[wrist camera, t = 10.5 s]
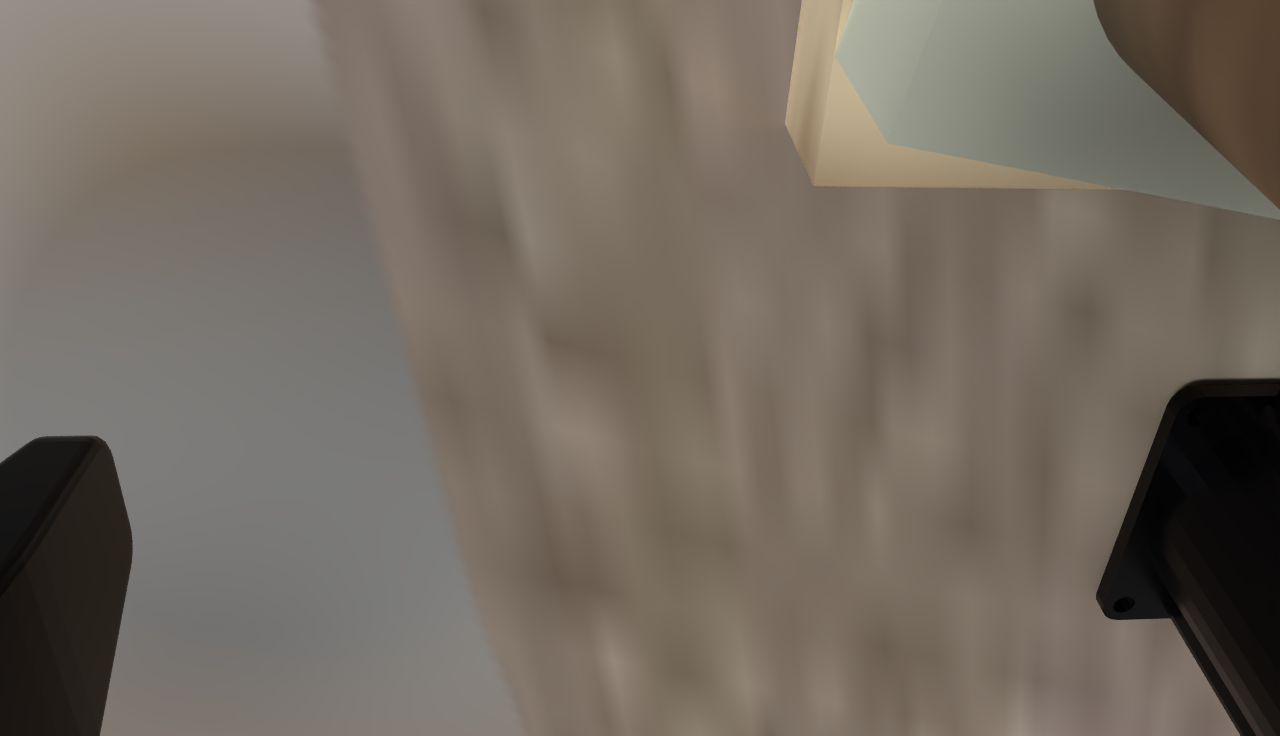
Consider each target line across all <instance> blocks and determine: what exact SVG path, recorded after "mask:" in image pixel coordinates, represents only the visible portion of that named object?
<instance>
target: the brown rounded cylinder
mask: <svg viewBox="0 0 1280 736" xmlns="http://www.w3.org/2000/svg"><path fill="white" fill-rule="evenodd" d="M1093 1H1094V5H1095V9H1096V12H1097V16H1098V19H1099V21H1100V23H1101V25H1102V27H1103V30H1104V32H1105V34H1106V36H1107V38H1108V40H1109V41H1110V43H1111V44H1112V46H1113V47H1114V49H1115V50H1116V52H1117V53H1118V55H1119V56H1120V57H1121V58H1122V59H1123V61H1124V62H1125V63H1126V64H1127V65H1128V66H1129V67H1130V68H1131V69H1132V70H1133V71H1134V72H1135V73H1136V74H1137V75H1138V76H1139V77H1140V78H1141V79H1142V80H1143V81H1144V82H1146V83H1147V84H1148V85H1149V86H1150V87H1151V88H1152V89H1153V90H1154V91H1155V92H1156V93H1157V94H1158V95H1159V96H1160V97H1161V98H1162V99H1163V100H1164V101H1166V102H1167V103H1168V104H1169V105H1170V106H1171V107H1172V108H1173V109H1174V110H1175V111H1176V112H1177V113H1178V114H1179V115H1180V116H1181V117H1182V118H1183V119H1185V120H1186V121H1187V122H1188V123H1189V124H1190V125H1191V126H1192V127H1193V128H1194V129H1195V130H1196V131H1197V132H1198V133H1199V134H1200V135H1201V136H1202V137H1203V138H1205V139H1206V140H1207V141H1208V142H1209V143H1210V144H1211V145H1212V146H1213V147H1214V148H1215V149H1216V150H1217V151H1218V152H1219V153H1220V154H1221V155H1222V156H1224V157H1225V158H1226V159H1227V160H1228V161H1229V162H1230V163H1231V164H1232V165H1233V166H1234V167H1235V168H1236V169H1237V170H1238V171H1239V172H1240V173H1241V174H1242V175H1244V176H1245V177H1246V178H1247V179H1248V180H1249V181H1250V182H1251V183H1252V184H1253V185H1254V186H1255V187H1256V188H1257V189H1258V190H1259V191H1260V192H1261V193H1263V194H1264V195H1265V196H1266V197H1267V198H1268V199H1269V200H1270V201H1271V202H1272V203H1273V204H1274V205H1275V206H1276V207H1277V208H1278V209H1279V210H1280V0H1093Z"/></svg>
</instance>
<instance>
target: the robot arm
mask: <svg viewBox="0 0 1280 736" xmlns="http://www.w3.org/2000/svg"><path fill="white" fill-rule="evenodd" d="M1197 407H1199V409H1198V410H1197V411H1195V412H1193V413H1191V414H1189V413H1190V411H1192V410H1193V409H1195V408H1197ZM132 547H133V546H132V532H131V527H130V523H129V519H128V515H127V511H126V507H125V503H124V499H123V495H122V491H121V487H120V483H119V479H118V475H117V471H116V467H115V463H114V460H113V456H112V453H111V450H110V449H109V447H108V445H107V444H106V442H105V441H103V440H102V439H100V438H99V437H97V436H46V437H39V438H36V439H34V440H32V441H30V442H29V443H27V444H26V445H24V446H23V447H21V448H20V449H19V450H17V451H16V452H15V453H13V454H12V455H10V456H9V457H8V458H6V459H5V460H4V461H2V462H1V463H0V736H100V731H101V727H102V721H103V716H104V710H105V705H106V700H107V694H108V689H109V683H110V678H111V672H112V667H113V661H114V656H115V651H116V645H117V640H118V635H119V629H120V624H121V618H122V613H123V608H124V602H125V597H126V591H127V585H128V581H129V575H130V570H131V563H132V552H133V550H132V549H133V548H132ZM1096 600H1097V602H1098V603H1099V605H1100V607H1101V609H1102V611H1103V613H1104V615H1105V616H1106V617H1108V618H1110V619H1115V620H1129V619H1159V618H1171V620H1172V621H1173V623H1174V625H1175V626H1176V628H1177V630H1178V631H1179V633H1180V635H1181V636H1182V638H1183V640H1184V641H1185V643H1186V645H1187V646H1188V648H1189V650H1190V652H1191V653H1192V655H1193V657H1194V658H1195V660H1196V662H1197V663H1198V665H1199V667H1200V668H1201V670H1202V672H1203V673H1204V675H1205V677H1206V678H1207V680H1208V682H1209V683H1210V685H1211V687H1212V688H1213V690H1214V692H1215V693H1216V695H1217V697H1218V699H1219V700H1220V702H1221V704H1222V705H1223V707H1224V709H1225V710H1226V712H1227V714H1228V715H1229V717H1230V719H1231V720H1232V722H1233V724H1234V725H1235V727H1236V729H1237V730H1238V732H1239V734H1240V735H1241V736H1280V384H1261V385H1196V386H1190V387H1187V388H1185V389H1183V390H1180V391H1179V392H1177V393H1176V394H1175V395H1174V396H1173V397H1172V398H1171V399H1170V401H1169V403H1168V404H1167V406H1166V409H1165V412H1164V414H1163V417H1162V420H1161V422H1160V425H1159V428H1158V430H1157V433H1156V436H1155V438H1154V441H1153V444H1152V446H1151V449H1150V452H1149V454H1148V457H1147V460H1146V462H1145V465H1144V468H1143V470H1142V473H1141V476H1140V478H1139V481H1138V484H1137V486H1136V489H1135V492H1134V494H1133V497H1132V500H1131V502H1130V505H1129V508H1128V510H1127V513H1126V516H1125V518H1124V521H1123V524H1122V526H1121V529H1120V532H1119V534H1118V537H1117V540H1116V542H1115V545H1114V548H1113V550H1112V553H1111V556H1110V558H1109V561H1108V564H1107V566H1106V569H1105V572H1104V574H1103V577H1102V580H1101V582H1100V585H1099V588H1098V590H1097V593H1096Z"/></svg>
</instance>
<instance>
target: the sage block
mask: <svg viewBox="0 0 1280 736" xmlns="http://www.w3.org/2000/svg"><path fill="white" fill-rule="evenodd" d="M835 58H836V59H837V61H838V62H839V64H840V66H841V67H842V69H843V71H844V72H845V74H846V76H847V77H848V79H849V81H850V82H851V84H852V86H853V87H854V89H855V91H856V92H857V94H858V95H859V97H860V99H861V100H862V102H863V104H864V105H865V107H866V109H867V110H868V112H869V114H870V115H871V117H872V119H873V120H874V122H875V124H876V125H877V127H878V128H879V130H880V132H881V133H882V135H883V137H884V138H885V140H886V142H887V143H889V144H894V145H899V146H904V147H909V148H914V149H920V150H925V151H930V152H935V153H940V154H945V155H950V156H955V157H960V158H966V159H971V160H976V161H981V162H986V163H991V164H996V165H1001V166H1006V167H1011V168H1017V169H1022V170H1027V171H1032V172H1037V173H1042V174H1047V175H1052V176H1057V177H1063V178H1068V179H1073V180H1078V181H1083V182H1088V183H1093V184H1098V185H1103V186H1108V187H1114V188H1119V189H1124V190H1129V191H1134V192H1139V193H1144V194H1149V195H1154V196H1160V197H1165V198H1170V199H1175V200H1180V201H1185V202H1190V203H1195V204H1200V205H1205V206H1211V207H1216V208H1221V209H1226V210H1231V211H1236V212H1241V213H1246V214H1251V215H1257V216H1262V217H1267V218H1272V219H1277V220H1280V210H1279V209H1278V208H1277V207H1276V206H1275V205H1274V204H1273V203H1272V202H1271V201H1270V200H1269V199H1268V198H1267V197H1266V196H1265V195H1264V194H1263V193H1261V192H1260V191H1259V190H1258V189H1257V188H1256V187H1255V186H1254V185H1253V184H1252V183H1251V182H1250V181H1249V180H1248V179H1247V178H1246V177H1245V176H1244V175H1242V174H1241V173H1240V172H1239V171H1238V170H1237V169H1236V168H1235V167H1234V166H1233V165H1232V164H1231V163H1230V162H1229V161H1228V160H1227V159H1226V158H1225V157H1224V156H1222V155H1221V154H1220V153H1219V152H1218V151H1217V150H1216V149H1215V148H1214V147H1213V146H1212V145H1211V144H1210V143H1209V142H1208V141H1207V140H1206V139H1205V138H1203V137H1202V136H1201V135H1200V134H1199V133H1198V132H1197V131H1196V130H1195V129H1194V128H1193V127H1192V126H1191V125H1190V124H1189V123H1188V122H1187V121H1186V120H1185V119H1183V118H1182V117H1181V116H1180V115H1179V114H1178V113H1177V112H1176V111H1175V110H1174V109H1173V108H1172V107H1171V106H1170V105H1169V104H1168V103H1167V102H1166V101H1164V100H1163V99H1162V98H1161V97H1160V96H1159V95H1158V94H1157V93H1156V92H1155V91H1154V90H1153V89H1152V88H1151V87H1150V86H1149V85H1148V84H1147V83H1146V82H1144V81H1143V80H1142V79H1141V78H1140V77H1139V76H1138V75H1137V74H1136V73H1135V72H1134V71H1133V70H1132V69H1131V68H1130V67H1129V66H1128V65H1127V64H1126V63H1125V62H1124V61H1123V59H1122V58H1121V57H1120V56H1119V55H1118V53H1117V52H1116V50H1115V49H1114V47H1113V46H1112V44H1111V43H1110V41H1109V40H1108V38H1107V36H1106V34H1105V32H1104V30H1103V27H1102V25H1101V23H1100V21H1099V19H1098V16H1097V12H1096V9H1095V5H1094V1H1093V0H854V1H853V4H852V7H851V10H850V13H849V16H848V19H847V22H846V24H845V27H844V30H843V33H842V36H841V39H840V42H839V45H838V48H837V51H836V53H835Z"/></svg>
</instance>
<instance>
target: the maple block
mask: <svg viewBox="0 0 1280 736" xmlns="http://www.w3.org/2000/svg"><path fill="white" fill-rule="evenodd" d="M853 1H854V0H802V4H801V11H800V19H799V26H798V33H797V40H796V48H795V55H794V62H793V69H792V77H791V84H790V91H789V98H788V106H787V113H786V120H785V125H786V127H787V129H788V131H789V134H790V136H791V138H792V140H793V142H794V144H795V147H796V149H797V151H798V153H799V155H800V158H801V160H802V162H803V164H804V166H805V168H806V171H807V173H808V175H809V177H810V179H811V182H812V184H813V186H854V187H941V188H1029V189H1117V190H1124V189H1119V188H1114V187H1108V186H1103V185H1098V184H1093V183H1088V182H1083V181H1078V180H1073V179H1068V178H1063V177H1057V176H1052V175H1047V174H1042V173H1037V172H1032V171H1027V170H1022V169H1017V168H1011V167H1006V166H1001V165H996V164H991V163H986V162H981V161H976V160H971V159H966V158H960V157H955V156H950V155H945V154H940V153H935V152H930V151H925V150H920V149H914V148H909V147H904V146H899V145H894V144H889V143H887V142H886V140H885V138H884V137H883V135H882V133H881V132H880V130H879V128H878V127H877V125H876V124H875V122H874V120H873V119H872V117H871V115H870V114H869V112H868V110H867V109H866V107H865V105H864V104H863V102H862V100H861V99H860V97H859V95H858V94H857V92H856V91H855V89H854V87H853V86H852V84H851V82H850V81H849V79H848V77H847V76H846V74H845V72H844V71H843V69H842V67H841V66H840V64H839V62H838V61H837V59H836V58H835V53H836V51H837V48H838V45H839V42H840V39H841V36H842V33H843V30H844V27H845V24H846V22H847V19H848V16H849V13H850V10H851V7H852V4H853Z"/></svg>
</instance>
